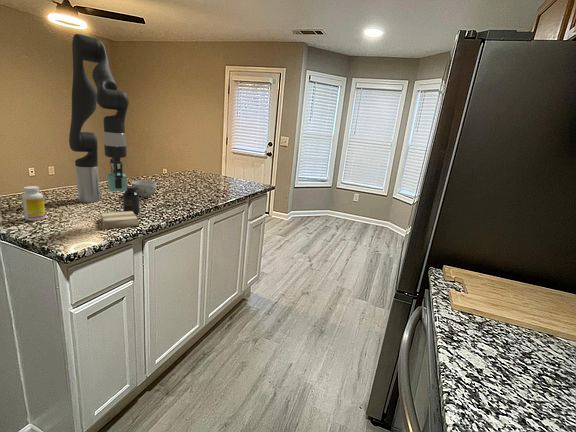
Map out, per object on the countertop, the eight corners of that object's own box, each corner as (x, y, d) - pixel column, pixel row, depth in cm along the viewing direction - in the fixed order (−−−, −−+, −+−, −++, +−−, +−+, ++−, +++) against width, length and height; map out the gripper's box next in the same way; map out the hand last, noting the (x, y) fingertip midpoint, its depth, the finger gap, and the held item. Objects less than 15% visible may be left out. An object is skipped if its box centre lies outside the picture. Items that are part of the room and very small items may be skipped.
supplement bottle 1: (50, 218, 126) (46, 187, 123) (32, 222, 120) (28, 189, 117) (38, 215, 128) (34, 184, 125) (20, 219, 122) (15, 187, 118)
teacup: (127, 195, 171) (126, 181, 169) (146, 192, 182) (146, 179, 180) (145, 200, 165) (144, 186, 163) (164, 197, 175) (164, 183, 173)
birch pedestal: (101, 219, 131) (100, 212, 130) (132, 217, 137) (132, 210, 137) (104, 228, 121) (103, 221, 121) (137, 225, 128) (137, 218, 127)
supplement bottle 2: (143, 212, 146) (142, 187, 143) (130, 215, 140) (129, 189, 137) (132, 209, 149) (131, 184, 145) (120, 212, 143) (118, 186, 139)
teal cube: (108, 188, 126) (107, 173, 124) (124, 187, 130) (124, 173, 128) (110, 191, 121) (109, 176, 120) (127, 190, 125) (126, 176, 123)
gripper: (102, 142, 124) (104, 183, 129) (106, 145, 113) (109, 190, 117) (123, 143, 128) (124, 183, 133) (129, 146, 117) (130, 190, 122)
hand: (117, 186), depth 125 cm, fingers closed on teal cube, 6 cm apart
